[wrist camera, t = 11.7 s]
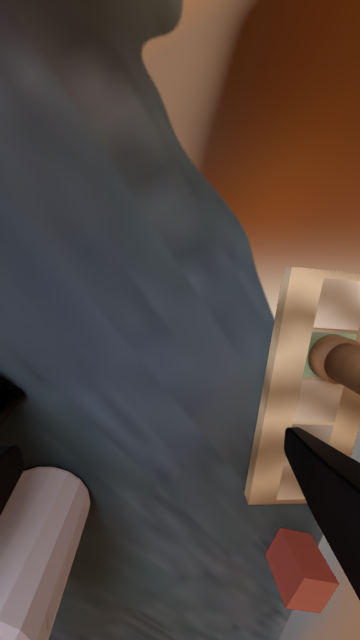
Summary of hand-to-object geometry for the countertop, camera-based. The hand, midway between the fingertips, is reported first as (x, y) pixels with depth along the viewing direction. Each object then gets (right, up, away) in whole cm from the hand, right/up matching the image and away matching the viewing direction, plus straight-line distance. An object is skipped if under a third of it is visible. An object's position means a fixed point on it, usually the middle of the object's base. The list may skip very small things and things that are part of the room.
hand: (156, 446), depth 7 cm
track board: (+15, -4, +15) cm, 22 cm away
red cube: (+15, -25, +19) cm, 35 cm away
